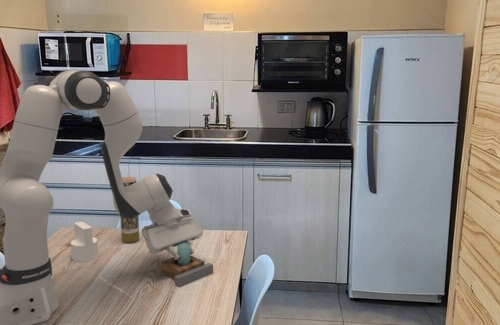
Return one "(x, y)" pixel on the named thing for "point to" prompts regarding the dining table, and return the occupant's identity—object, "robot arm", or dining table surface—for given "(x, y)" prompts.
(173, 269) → the socket block
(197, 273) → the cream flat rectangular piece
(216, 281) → the dining table surface
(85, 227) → the base with upright slab
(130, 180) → the wooden log cylinder
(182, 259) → the teal rounded peg
